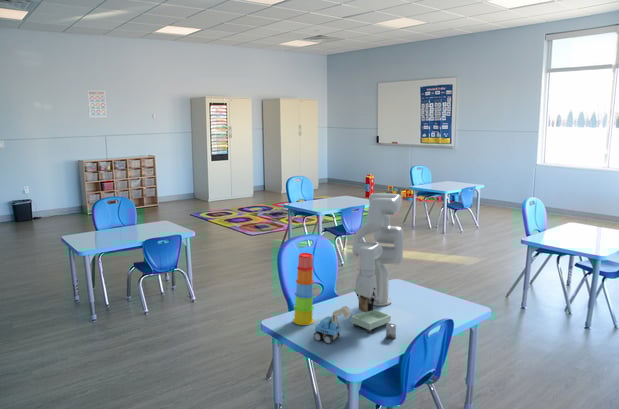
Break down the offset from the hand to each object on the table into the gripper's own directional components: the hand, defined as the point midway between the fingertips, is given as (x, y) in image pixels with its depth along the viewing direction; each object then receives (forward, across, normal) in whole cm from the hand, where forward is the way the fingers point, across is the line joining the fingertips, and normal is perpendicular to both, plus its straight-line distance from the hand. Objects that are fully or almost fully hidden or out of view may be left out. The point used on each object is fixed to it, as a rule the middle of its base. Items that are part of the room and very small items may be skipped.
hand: (366, 308), depth 239 cm
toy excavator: (+11, -1, -21) cm, 24 cm away
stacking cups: (+10, -26, -17) cm, 33 cm away
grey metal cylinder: (+10, +15, +1) cm, 18 cm away
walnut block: (+1, 0, 0) cm, 1 cm away
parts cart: (+10, 0, +4) cm, 11 cm away
